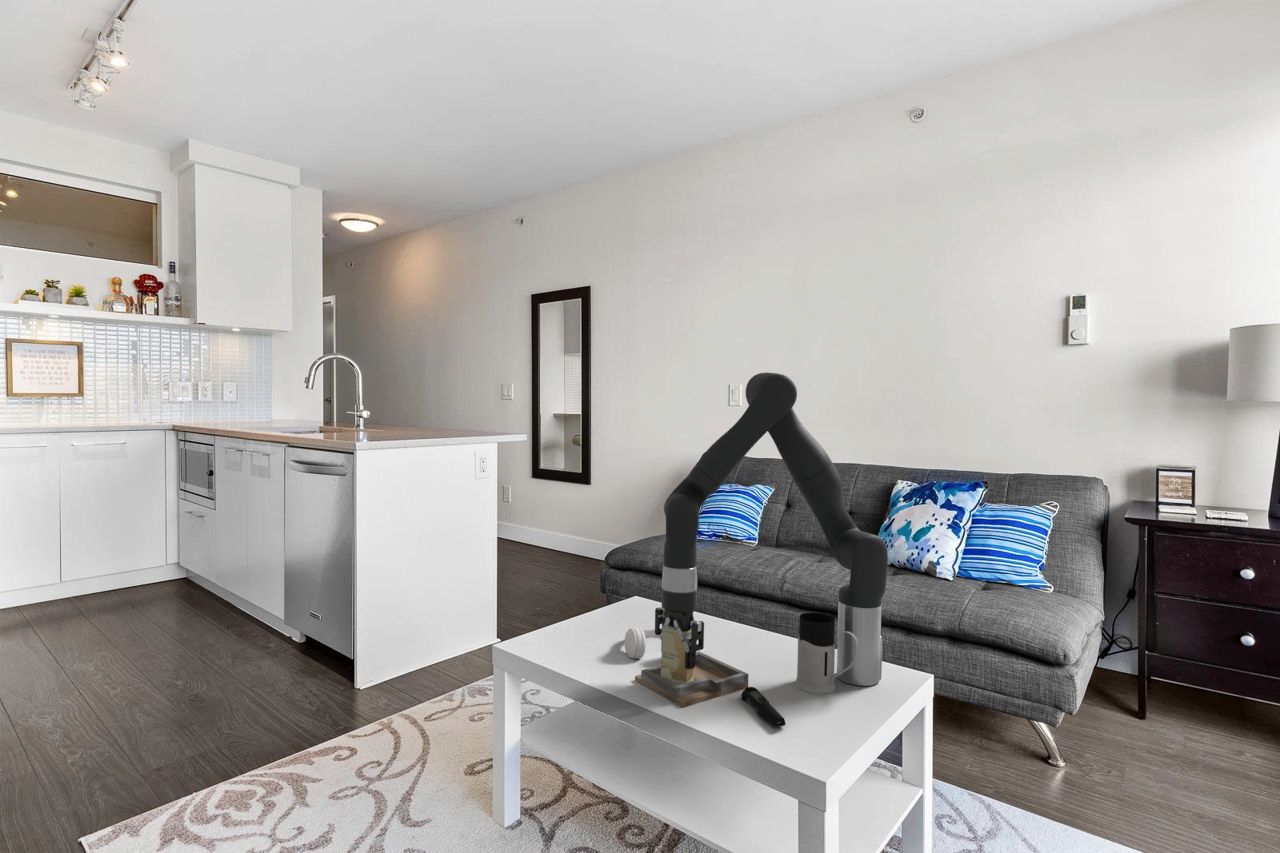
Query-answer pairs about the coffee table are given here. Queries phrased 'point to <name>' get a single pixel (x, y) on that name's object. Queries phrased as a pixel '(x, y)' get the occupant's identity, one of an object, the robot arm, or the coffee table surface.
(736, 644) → the coffee table surface
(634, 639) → the headphones
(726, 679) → the keyhole board
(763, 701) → the electric trimmer
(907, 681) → the coffee table surface
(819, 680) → the glass holder
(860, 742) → the coffee table surface
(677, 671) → the skincare box
